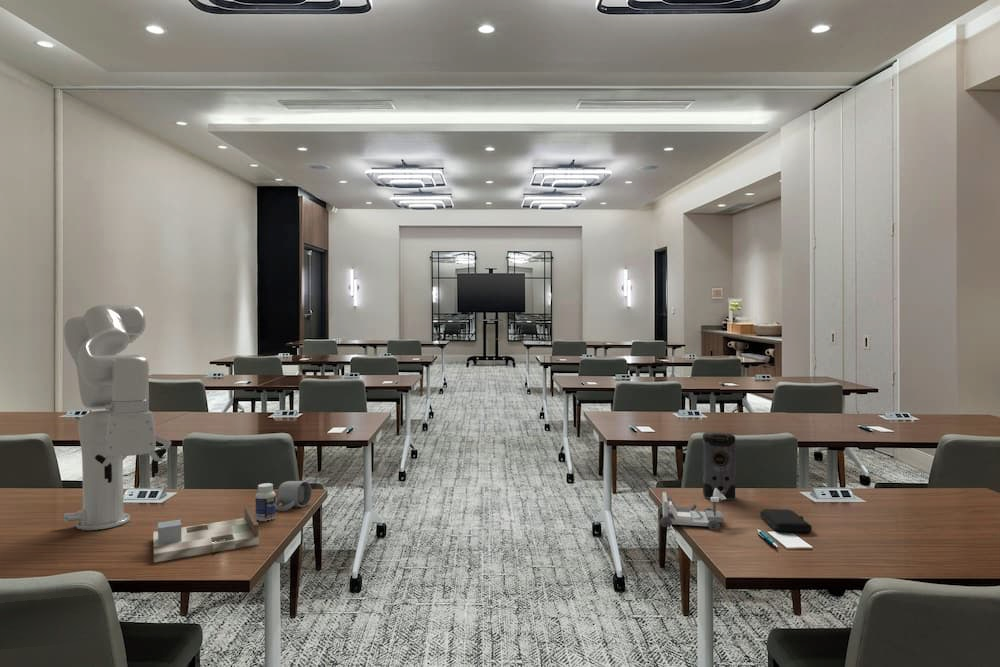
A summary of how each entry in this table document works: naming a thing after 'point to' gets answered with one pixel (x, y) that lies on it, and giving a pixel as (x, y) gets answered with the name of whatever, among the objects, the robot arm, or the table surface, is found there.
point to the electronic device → (719, 464)
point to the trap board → (210, 538)
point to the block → (169, 531)
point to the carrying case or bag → (786, 521)
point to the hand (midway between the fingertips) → (132, 478)
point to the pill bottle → (265, 502)
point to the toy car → (691, 513)
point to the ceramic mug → (293, 494)
